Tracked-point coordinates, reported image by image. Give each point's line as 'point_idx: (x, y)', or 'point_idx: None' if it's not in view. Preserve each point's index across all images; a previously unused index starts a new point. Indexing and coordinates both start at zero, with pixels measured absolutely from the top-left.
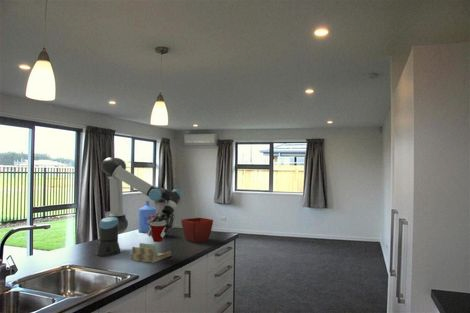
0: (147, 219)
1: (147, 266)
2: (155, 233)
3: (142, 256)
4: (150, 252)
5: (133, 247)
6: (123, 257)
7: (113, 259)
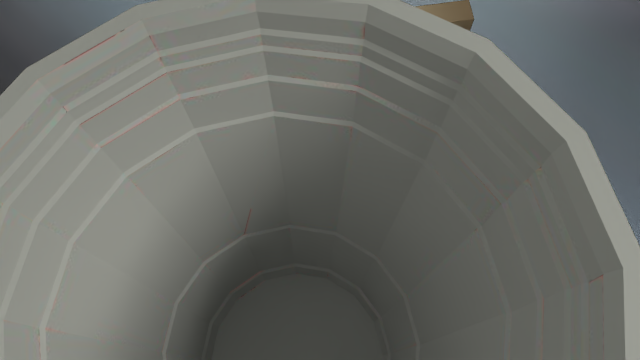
0: None
1: (111, 6)
2: (238, 188)
3: None
4: None
5: (449, 2)
6: (612, 110)
7: (615, 5)
